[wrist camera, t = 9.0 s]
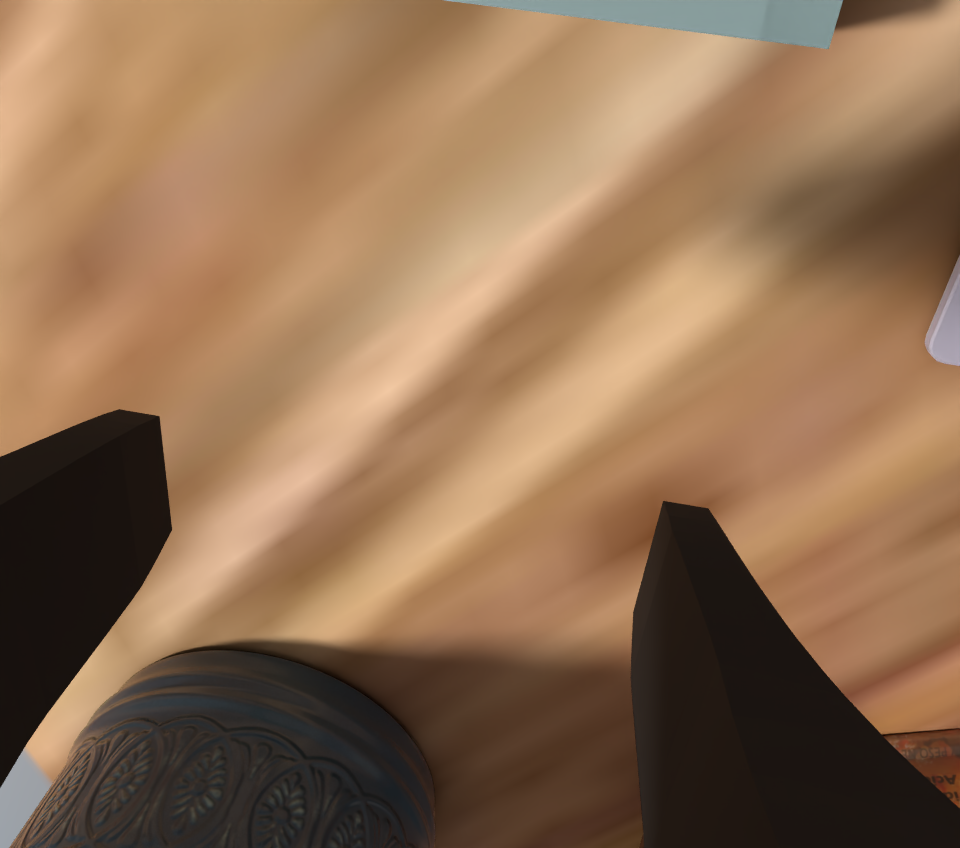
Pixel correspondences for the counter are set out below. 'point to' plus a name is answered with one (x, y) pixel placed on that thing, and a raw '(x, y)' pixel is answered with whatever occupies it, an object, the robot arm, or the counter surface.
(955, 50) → the counter surface
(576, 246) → the counter surface
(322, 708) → the canister
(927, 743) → the tin
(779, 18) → the link
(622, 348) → the counter surface
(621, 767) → the counter surface
